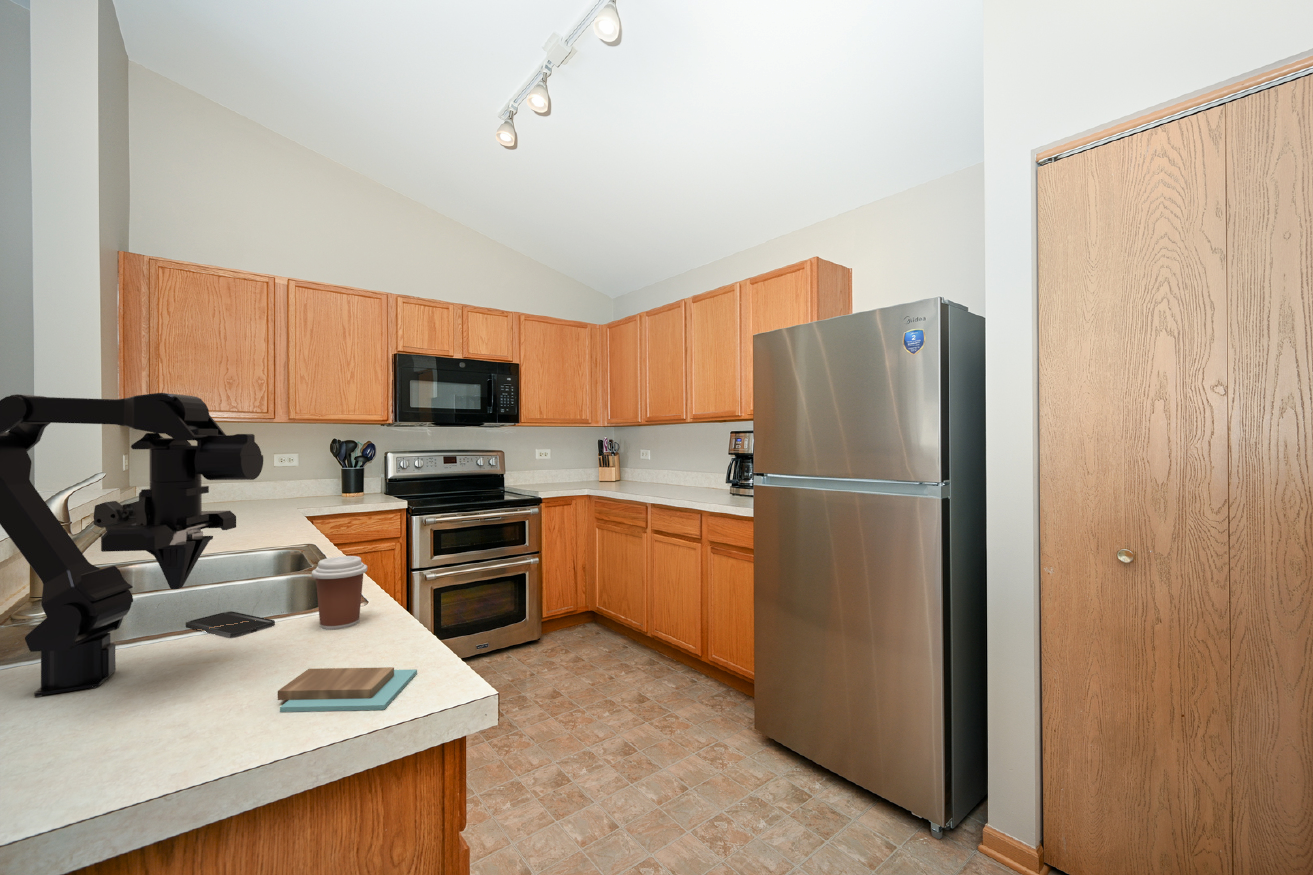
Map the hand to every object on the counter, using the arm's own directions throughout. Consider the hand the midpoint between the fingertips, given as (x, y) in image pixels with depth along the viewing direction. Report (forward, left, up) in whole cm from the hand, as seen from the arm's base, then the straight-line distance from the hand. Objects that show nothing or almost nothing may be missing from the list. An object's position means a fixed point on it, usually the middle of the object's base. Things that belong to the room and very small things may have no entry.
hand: (176, 588), depth 81 cm
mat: (+23, -16, -13) cm, 31 cm away
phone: (+2, +24, -14) cm, 28 cm away
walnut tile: (+16, -13, -12) cm, 23 cm away
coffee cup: (+20, +16, -13) cm, 29 cm away
